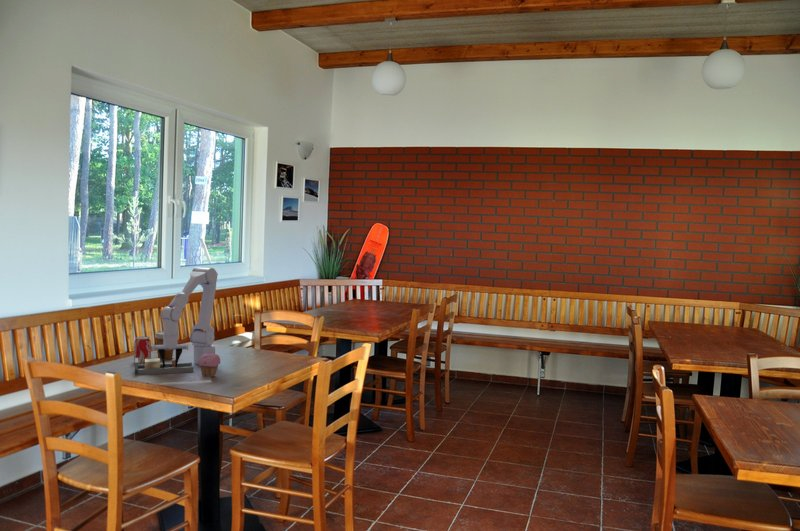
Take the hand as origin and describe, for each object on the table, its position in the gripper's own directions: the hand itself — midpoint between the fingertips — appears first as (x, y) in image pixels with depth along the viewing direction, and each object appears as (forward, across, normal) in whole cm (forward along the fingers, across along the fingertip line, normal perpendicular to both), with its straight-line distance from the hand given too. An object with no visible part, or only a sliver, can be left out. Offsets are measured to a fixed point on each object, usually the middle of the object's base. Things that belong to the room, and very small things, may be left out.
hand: (169, 366), depth 281 cm
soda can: (+3, -11, +20) cm, 23 cm away
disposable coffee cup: (+3, -1, +31) cm, 31 cm away
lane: (+3, -2, 0) cm, 3 cm away
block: (+1, -4, 0) cm, 4 cm away
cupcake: (+3, +15, -11) cm, 19 cm away
